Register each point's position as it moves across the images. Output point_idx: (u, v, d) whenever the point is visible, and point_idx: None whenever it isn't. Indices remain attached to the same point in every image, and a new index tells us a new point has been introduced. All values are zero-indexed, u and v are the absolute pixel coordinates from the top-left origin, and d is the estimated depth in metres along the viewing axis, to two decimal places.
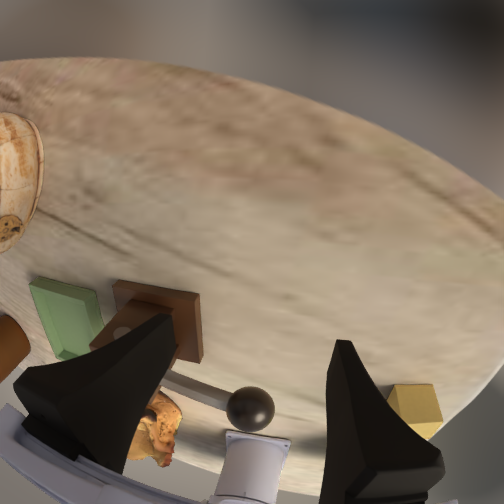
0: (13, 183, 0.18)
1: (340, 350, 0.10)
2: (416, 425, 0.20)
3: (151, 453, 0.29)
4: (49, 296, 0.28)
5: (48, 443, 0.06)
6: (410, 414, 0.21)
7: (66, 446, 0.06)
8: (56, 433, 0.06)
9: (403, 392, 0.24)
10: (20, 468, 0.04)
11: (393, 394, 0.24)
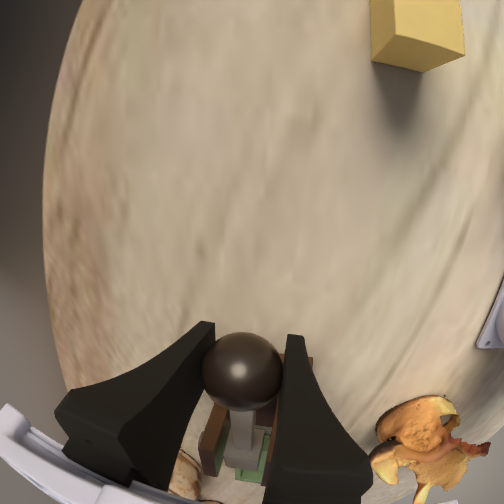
0: None
1: (287, 344, 0.11)
2: (398, 1, 0.07)
3: (463, 457, 0.15)
4: None
5: (97, 470, 0.06)
6: (387, 20, 0.08)
7: (120, 473, 0.06)
8: (105, 459, 0.06)
9: (374, 42, 0.11)
10: (20, 468, 0.04)
11: (388, 61, 0.11)
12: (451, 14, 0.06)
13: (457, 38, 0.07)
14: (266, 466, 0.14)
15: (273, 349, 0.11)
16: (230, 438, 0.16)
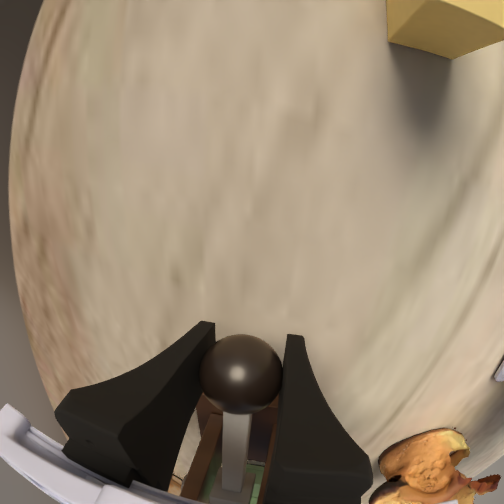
0: None
1: (287, 344, 0.11)
2: None
3: (471, 491, 0.12)
4: None
5: (97, 471, 0.06)
6: None
7: (120, 473, 0.06)
8: (106, 459, 0.06)
9: (393, 18, 0.07)
10: (20, 468, 0.04)
11: (410, 42, 0.08)
12: None
13: None
14: None
15: (273, 349, 0.11)
16: (217, 480, 0.13)
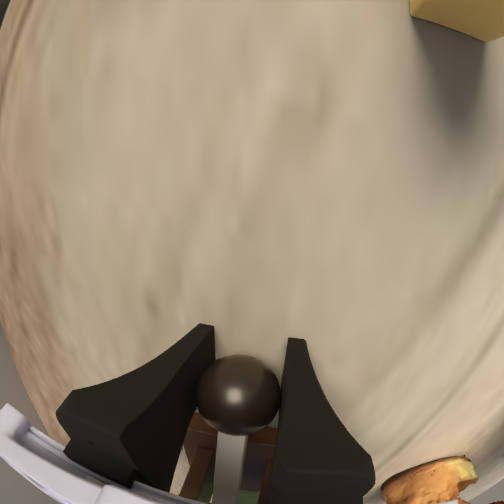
0: None
1: (288, 345, 0.11)
2: None
3: None
4: None
5: (98, 471, 0.06)
6: None
7: (122, 474, 0.06)
8: (107, 460, 0.06)
9: None
10: (20, 468, 0.04)
11: (439, 16, 0.05)
12: None
13: None
14: None
15: None
16: None
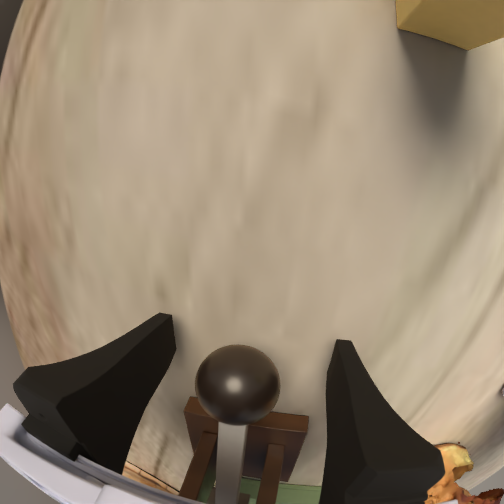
0: None
1: (340, 350, 0.10)
2: None
3: None
4: None
5: (48, 443, 0.06)
6: None
7: (66, 446, 0.06)
8: (56, 433, 0.06)
9: (403, 1, 0.06)
10: (20, 468, 0.04)
11: (423, 28, 0.06)
12: None
13: None
14: None
15: None
16: (210, 499, 0.12)
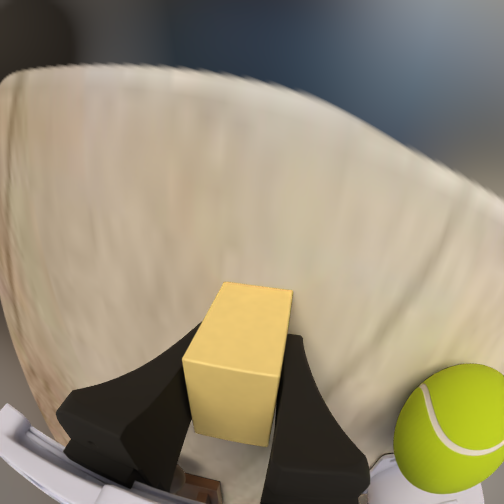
0: None
1: None
2: (195, 413, 0.10)
3: None
4: None
5: (99, 471, 0.06)
6: None
7: (122, 474, 0.06)
8: (107, 460, 0.06)
9: None
10: (20, 468, 0.04)
11: None
12: (256, 424, 0.09)
13: (260, 438, 0.10)
14: None
15: (180, 469, 0.19)
16: None
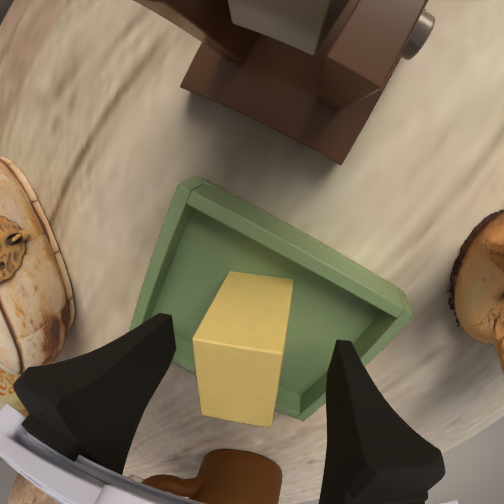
0: None
1: (340, 350, 0.10)
2: (202, 394, 0.11)
3: None
4: (178, 321, 0.16)
5: (48, 443, 0.06)
6: None
7: (66, 446, 0.06)
8: (56, 433, 0.06)
9: None
10: (20, 468, 0.04)
11: None
12: (260, 403, 0.10)
13: (263, 418, 0.11)
14: None
15: None
16: None
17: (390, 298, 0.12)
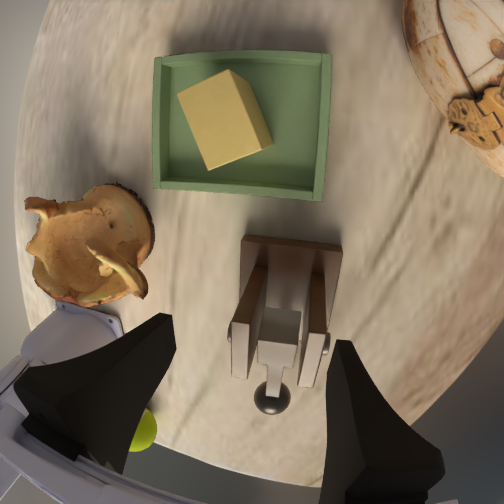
0: None
1: (340, 350, 0.10)
2: (236, 97, 0.13)
3: (48, 263, 0.20)
4: (296, 79, 0.16)
5: (48, 443, 0.06)
6: (241, 88, 0.14)
7: (66, 446, 0.06)
8: (56, 433, 0.06)
9: (250, 90, 0.16)
10: (20, 468, 0.04)
11: None
12: (196, 118, 0.14)
13: (186, 102, 0.14)
14: (245, 372, 0.17)
15: None
16: None
17: (172, 189, 0.19)
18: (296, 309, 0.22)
